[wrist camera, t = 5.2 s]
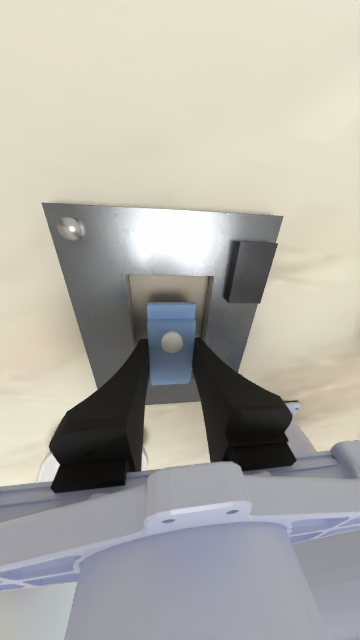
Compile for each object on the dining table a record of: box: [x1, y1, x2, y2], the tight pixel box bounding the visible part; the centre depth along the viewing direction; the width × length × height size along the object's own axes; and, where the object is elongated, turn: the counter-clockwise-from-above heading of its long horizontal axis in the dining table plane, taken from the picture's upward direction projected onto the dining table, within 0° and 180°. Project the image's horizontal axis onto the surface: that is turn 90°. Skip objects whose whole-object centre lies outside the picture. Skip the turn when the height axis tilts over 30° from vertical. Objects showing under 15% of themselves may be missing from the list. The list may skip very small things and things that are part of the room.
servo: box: [147, 302, 196, 385], centre depth 13 cm, size 8×3×4 cm, turn 178°
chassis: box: [42, 203, 283, 405], centre depth 14 cm, size 18×14×2 cm
